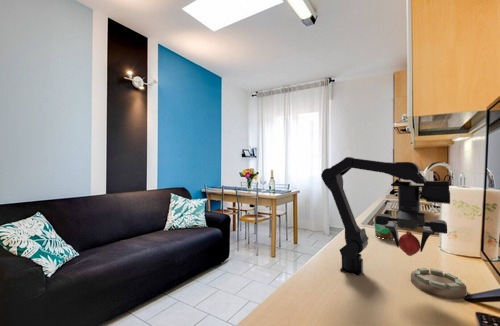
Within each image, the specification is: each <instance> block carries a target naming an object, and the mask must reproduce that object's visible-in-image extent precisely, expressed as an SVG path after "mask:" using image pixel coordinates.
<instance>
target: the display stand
mask: <svg viewBox="0 0 500 326" xmlns="http://www.w3.org/2000/svg"><path fill="white" fill-rule="evenodd" d="M410 282H411V283H412V285H414V286H415V288H418V289H419V290H421V291H424V292H426V293H427V294H430V295H433V296H437V297H441V298H444V299H445V298H446V299H452V300H459V299H464V298H465V297H464V296H465V295H466V296H467V292H468V291H467V288H468V287H467V285H466V284H465V283H464V282H463V281H462V280H461V279H459V277H458V276H455V275H453V274H452V273H449V272H443V271H442V270H439V269H435V268H430V269H428V268H426V267H420V268H419V267H417V268H416V269H414V271H411V273H410ZM463 297H464V298H463Z"/></svg>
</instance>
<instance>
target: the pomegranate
mask: <svg viewBox="0 0 500 326" xmlns="http://www.w3.org/2000/svg"><path fill="white" fill-rule="evenodd" d="M398 244H399V248H400V250H401V251H402V252H404V253H405V254H406V256H409V257H411V256H414V255H416V254H417V253H418V252H419V251H420V246H421V241H419V239H418V237H416V236H415V235H414V234H413V233H412V232H411V231H410V230H407V231H406V232H405V233H403V234H402V235H401V236H400V237H399V242H398Z"/></svg>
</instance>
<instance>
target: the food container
mask: <svg viewBox="0 0 500 326" xmlns="http://www.w3.org/2000/svg"><path fill="white" fill-rule="evenodd" d="M375 217H376V216H374V217H373V220H372V222H373V223H374V224H373V225H374V234H375V235H374V236H375V237H376V236H377V237H380V238H384V239H394V237H393V235H392V233H391V231H390V230H389V229H388V228H385V225H379V224H375ZM377 237H376V238H377ZM380 238H379V239H380ZM384 239H383V240H384Z"/></svg>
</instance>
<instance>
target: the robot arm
mask: <svg viewBox="0 0 500 326" xmlns="http://www.w3.org/2000/svg"><path fill="white" fill-rule="evenodd" d="M351 169H358V170H362V171H368V172H369V171H370V172H374V173H375V172H376V173H382V174H386V175H389V176H392V177H394V178H396V179H394V181H393V182H392V183H391V184H390V186H391V187H397V199H398V200H397V203H398V204H397V207H398V208H397V209H398V210H397V212H396V217H392V216H391V214H388V213H378V214H377V215H376V216H374V217H375V224H379V225H385V228H388V229H389V230H390V231H391V233H392V235H393V237H394V240H393V241H394V242H395V245H396V247H397V248H398V249H399V248H400V247H399V244H398V242H399V239H400V237H399V231H398V228H400V229H403V228H405V229H410V230H417V229H418V228H422V234H421V240H420V250H419V251H420V252H421V253H422V252H423V250H424V248H425V245H426V243H427V240H428V239H429V237H430V236H431V235H433V236H434V235H436V233H438V234H448V223H447V221H446V220H443V219H442V220H441V219H433V218H430V220H429V221H427V220H426V215H425V213H424V212H421V209H420V208H421V203H420V201H421V200H420V198H421V199H423V200H425V201H426V202H425V203H431V204H432V203H435V204H447V205H451V190H450V181H449V180H439V181H438V180H427V179H426V177H425V176H424V175H422V173H421V169H420V167H419V165H418V164H417V163H415V162H412V161H397V162H395V161H394V162H385V161H379V160H378V161H377V160H371V159H370V160H369V159H364V158H355V157H352V156H346V157H345V158H343V159H342V160H341V161H339V162H337V163H335V164H334V165H332V166H331V167H328V168H325V169H324V170H322V172H321V175H320V176H321V179H322V181H323V183H324V185H325V187H326V188H327V189H328V190H329V191H330V192H331V194H332V197H333V200H334V204H335V206H336V209H337V210H338V214H339V217H340V220H341V221H342V225H343V228H344V240H345V245H343V246H342V247H341V248H339V253H340V255H341V267H340V268H339V271H340V272H344V273H347V274H352V275H355V276H360V275H361V274H362V272H363V271H364V259H363V258H362V254H361V253H362V252H363V251H364V250H365V249H366V248H367V246H368V244H369V241H368V240H369V237H368V235H367V233H366V229H365V228H360V227H359V225H358V224H357V221H356V219H355V216H354V213H353V211H352V209H351V205H350V203H349V199H348V197H347V195H346V193H345V190H344V178H343V176H344V175H345V174H347V173H348V172H349V171H350V170H351ZM400 179H401V180H400ZM402 180H403V181H402ZM412 182H413V183H415V184H412ZM420 188H421V197H420ZM375 224H374V225H375Z"/></svg>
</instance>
